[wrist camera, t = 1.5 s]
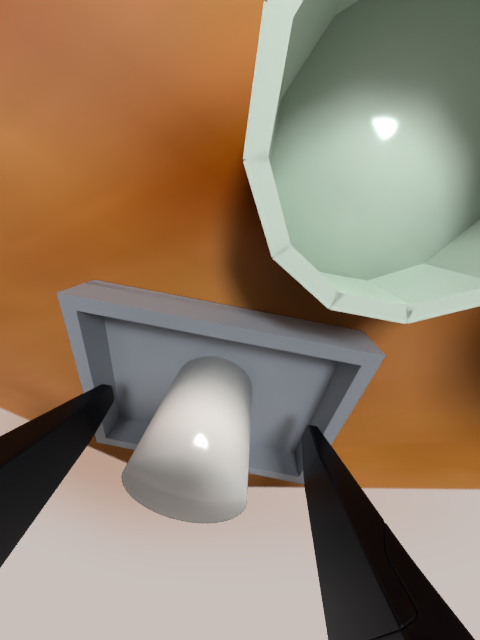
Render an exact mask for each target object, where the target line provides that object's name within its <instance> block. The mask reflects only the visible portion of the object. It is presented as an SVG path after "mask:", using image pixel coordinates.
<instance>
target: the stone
mask: <svg viewBox="0 0 480 640" xmlns="http://www.w3.org/2000/svg"><path fill="white" fill-rule="evenodd" d="M252 395H253V387H252V383H251V380H250V378H249V376H248V375H247V374H246V372H245V371H244V370H243V369H242V368H240V367H239V366H238V365H236V364H235V363H233V362H231V361H229V360H226V359H223V358H219V357H213V356H205V357H198V358H195V359H192V360H190V361H188V362H187V363H185V364H184V365H183V366H182V367H181V368H180V370H179V371H178V373H177V375H176V377H175V379H174V380H173V382H172V384H171V386H170V388H169V390H168V391H167V393H166V395H165V397H164V399H163V400H162V402H161V404H160V406H159V408H158V409H157V411H156V413H155V415H154V417H153V418H152V420H151V422H150V424H149V426H148V427H147V429H146V431H145V433H144V435H143V436H142V438H141V440H140V442H139V444H138V445H137V447H136V449H135V451H134V453H133V454H132V456H131V458H130V460H129V462H128V463H127V465H126V467H125V469H124V471H123V473H122V483H123V486H124V487H125V489H126V491H127V492H128V493H129V494H130V496H131V497H132V498H134V499H135V500H136V501H137V502H138V503H140V504H142V505H143V506H145V507H146V508H148V509H150V510H152V511H154V512H156V513H158V514H161V515H164V516H166V517H169V518H173V519H177V520H181V521H186V522H193V523H217V522H223V521H227V520H230V519H233V518H235V517H237V516H238V515H239V514H241V513H242V512H243V511H244V509H245V507H246V503H247V489H248V470H249V451H250V433H251V414H252Z"/></svg>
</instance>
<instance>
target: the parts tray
mask: <svg viewBox="0 0 480 640" xmlns="http://www.w3.org/2000/svg"><path fill="white" fill-rule="evenodd" d="M57 296H58V300H59V303H60V307H61V311H62V315H63V318H64V322H65V326H66V330H67V333H68V337H69V341H70V344H71V348H72V352H73V356H74V359H75V363H76V367H77V370H78V374H79V378H80V382H81V385H82V389H83V393H85V392H87V391H89V390H91V389H93V388H95V387H97V386H99V385H101V384H107V385H111V386H112V387H113V392H114V402H113V404H112V406H111V407H110V409H109V411H108V413H107V414H106V416H105V418H104V419H103V421H102V423H101V425H100V426H99V428H98V430H97V431H96V433H95V437H96V441H97V443H102V444H107V445H112V446H117V447H122V448H127V449H132V450H135V449H136V447H137V445H138V444H139V442H140V440H141V438H142V436H143V435H144V433H145V431H146V429H147V427H148V426H149V424H150V422H151V420H152V418H153V417H154V415H155V413H156V411H157V409H158V408H159V406H160V404H161V402H162V400H163V399H164V397H165V395H166V393H167V391H168V390H169V388H170V386H171V384H172V382H173V380H174V379H175V377H176V375H177V373H178V371H179V370H180V368H181V367H182V366H183V365H184V364H185V363H187V362H188V361H190V360H192V359H195V358H198V357H205V356H213V357H219V358H223V359H226V360H229V361H231V362H233V363H235V364H236V365H238V366H239V367H240V368H242V369H243V370H244V371H245V372H246V374H247V375H248V376H249V378H250V380H251V383H252V387H253V395H252V414H251V433H250V451H249V470H248V473H250V474H255V475H260V476H265V477H270V478H275V479H280V480H285V481H290V482H295V483H300V484H304V477H303V461H302V444H301V438H302V434H303V432H304V430H305V428H306V426H307V425H308V424H310V425H315V426H317V427H318V428H319V429H320V431H321V432H322V434H323V435H324V436H325V438H326V439H327V441H328V442H329V443H330V445H331V444H332V443H333V441H334V439H335V438H336V436H337V434H338V433H339V431H340V430H341V428H342V426H343V425H344V423H345V421H346V420H347V418H348V417H349V415H350V413H351V412H352V410H353V408H354V407H355V405H356V403H357V402H358V400H359V399H360V397H361V395H362V394H363V392H364V390H365V389H366V387H367V386H368V384H369V382H370V381H371V379H372V377H373V376H374V374H375V372H376V371H377V369H378V368H379V366H380V364H381V363H382V361H383V359H384V358H385V356H386V355H385V354H384V353H383V352H382V351H381V350H380V349H379V348H378V347H377V346H376V345H375V343H374V342H373V341H372V340H371V339H370V338H369V337H368V336H367V335H366V334H365V333H364V332H363V331H361V330H356V329H351V328H346V327H340V326H335V325H330V324H324V323H319V322H314V321H309V320H303V319H298V318H293V317H288V316H282V315H277V314H272V313H267V312H261V311H256V310H251V309H245V308H240V307H235V306H230V305H224V304H219V303H214V302H209V301H203V300H198V299H193V298H188V297H182V296H177V295H172V294H166V293H161V292H156V291H151V290H145V289H140V288H135V287H130V286H124V285H119V284H114V283H109V282H103V281H98V280H92V281H89V282H86V283H83V284H80V285H77V286H74V287H71V288H69V289H66V290H63V291H60V292H57Z"/></svg>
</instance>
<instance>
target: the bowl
mask: <svg viewBox="0 0 480 640" xmlns="http://www.w3.org/2000/svg"><path fill="white" fill-rule="evenodd" d="M243 163H244V167H245V170H246V173H247V177H248V180H249V183H250V187H251V190H252V193H253V197H254V200H255V203H256V207H257V210H258V213H259V217H260V220H261V223H262V227H263V230H264V234H265V237H266V240H267V244H268V247H269V250H270V254H271V257H272V259H273V260H275V261H276V262H277V263H278V264H279V265H280V266H281V267H282V268H283V269H285V270H286V271H287V272H288V273H289V274H290V275H291V276H292V277H293V278H294V279H296V280H297V281H298V282H299V283H300V284H301V285H302V286H303V287H304V288H305V289H307V290H308V291H309V292H310V293H311V294H312V295H313V296H314V297H315V298H317V299H318V300H319V301H320V302H321V303H322V304H323V305H324V306H325V307H326V308H328V309H329V310H333V311H339V312H344V313H349V314H355V315H360V316H365V317H371V318H376V319H381V320H386V321H392V322H397V323H402V324H405V323H406V324H408V323H413V322H417V321H421V320H425V319H429V318H433V317H437V316H442V315H446V314H450V313H454V312H458V311H462V310H467V309H471V308H475V307H479V306H480V0H265V1H264V4H263V12H262V19H261V27H260V34H259V41H258V49H257V56H256V64H255V71H254V79H253V86H252V94H251V101H250V108H249V116H248V123H247V131H246V138H245V146H244V153H243Z"/></svg>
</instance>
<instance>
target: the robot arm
mask: <svg viewBox="0 0 480 640" xmlns="http://www.w3.org/2000/svg"><path fill="white" fill-rule="evenodd" d="M113 402H114V392H113V387H112V386H111V385H107V384H101V385H99V386H97V387H95V388H93V389H91V390H89V391H87V392H85V393H83V394H81V395H79V396H77V397H76V398H74V399H72V400H70V401H68V402H66V403H64V404H62V405H60V406H58V407H56V408H54V409H52V410H50V411H48V412H46V413H45V414H43V415H41V416H39V417H37V418H35V419H33V420H31V421H29V422H27V423H25V424H23V425H21V426H19V427H18V428H15V429H14V430H12V431H10V432H8V433H6V434H4V435H2V436H0V567H1V566H2V564H3V563H4V561H5V560H6V559H7V557H8V556H9V555H10V553H11V552H12V550H13V549H14V548H15V546H16V545H17V543H18V542H19V540H20V539H21V538H22V536H23V535H24V534H25V532H26V531H27V529H28V528H29V526H30V525H31V524H32V522H33V521H34V519H35V518H36V517H37V515H38V514H39V512H40V511H41V509H42V508H43V507H44V505H45V504H46V503H47V501H48V500H49V498H50V497H51V496H52V494H53V493H54V491H55V490H56V489H57V487H58V486H59V484H60V483H61V482H62V480H63V479H64V477H65V476H66V475H67V473H68V472H69V470H70V469H71V467H72V466H73V465H74V463H75V462H76V460H77V459H78V458H79V456H80V455H81V453H82V452H83V450H84V449H85V448H86V446H87V445H88V444H89V442H90V441H91V439H92V438H93V436H94V435H95V433H96V431H97V430H98V428H99V426H100V425H101V423H102V421H103V419H104V418H105V416H106V414H107V413H108V411H109V409H110V407H111V406H112V404H113ZM301 444H302V461H303V477H304V485H305V492H306V498H307V505H308V510H309V518H310V523H311V530H312V537H313V542H314V549H315V556H316V562H317V568H318V576H319V582H320V587H321V595H322V601H323V608H324V614H325V621H326V627H327V634H328V640H475V639H474V638H473V637H472V635H471V634H470V633H469V632H468V630H467V629H466V628H465V627H464V625H463V624H462V623H461V621H460V620H459V619H458V618H457V616H456V615H455V614H454V613H453V611H452V610H451V609H450V608H449V606H448V605H447V604H446V603H445V601H444V600H443V599H442V598H441V596H440V595H439V594H438V593H437V591H436V590H435V588H434V587H433V586H432V585H431V583H430V582H429V581H428V580H427V578H426V577H425V576H424V574H423V573H422V572H421V571H420V569H419V568H418V567H417V566H416V564H415V563H414V561H413V560H412V559H411V557H410V556H409V555H408V554H407V552H406V551H405V549H404V548H403V546H402V545H401V544H400V542H399V541H398V540H397V538H396V537H395V535H394V534H393V533H392V531H391V530H390V528H389V527H388V525H387V524H386V523H384V520H383V519H382V517H381V516H380V514H379V513H378V511H377V510H376V509H375V507H374V506H373V504H372V503H371V502H370V500H369V499H368V497H367V496H366V494H365V493H364V492H363V490H362V489H361V487H360V486H359V485H358V483H357V482H356V480H355V479H354V477H353V476H352V475H351V473H350V472H349V470H348V469H347V468H346V466H345V465H344V463H343V462H342V460H341V459H340V458H339V456H338V455H337V453H336V452H335V451H334V449H333V448H332V446H331V445H330V443H329V442H328V441H327V439H326V438H325V436H324V435H323V434H322V432H321V431H320V429H319V428H318V427H317V426H315V425H310V424H308V425H307V426H306V428H305V430H304V432H303V434H302V438H301Z"/></svg>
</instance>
